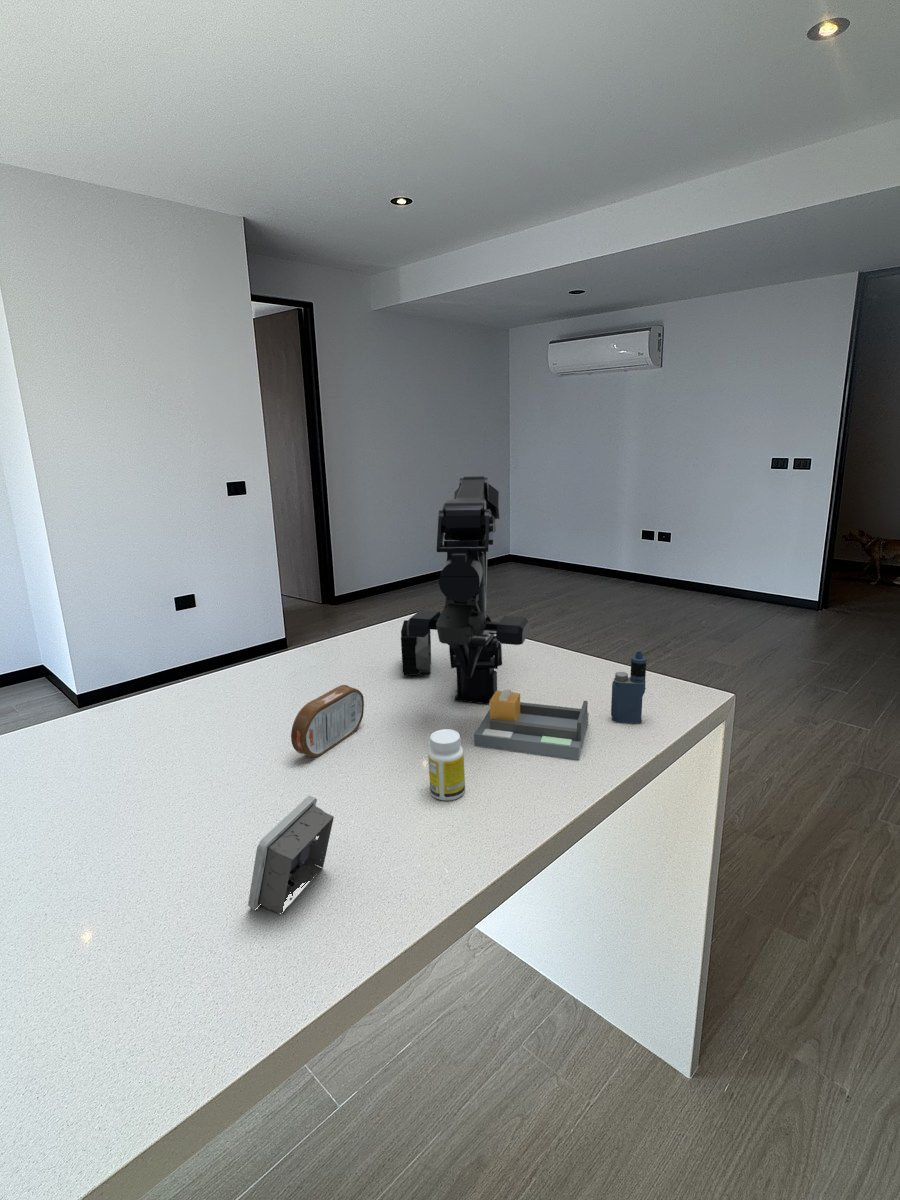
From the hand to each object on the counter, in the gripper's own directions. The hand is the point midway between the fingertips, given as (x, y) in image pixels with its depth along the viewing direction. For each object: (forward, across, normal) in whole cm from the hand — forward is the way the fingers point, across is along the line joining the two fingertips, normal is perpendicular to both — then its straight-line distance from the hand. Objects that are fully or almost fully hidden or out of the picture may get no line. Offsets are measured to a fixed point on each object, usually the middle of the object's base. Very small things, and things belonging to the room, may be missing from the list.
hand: (468, 676), depth 102 cm
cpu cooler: (+9, -18, +21) cm, 29 cm away
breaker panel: (+9, +10, 0) cm, 14 cm away
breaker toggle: (+7, +6, 0) cm, 9 cm away
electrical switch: (+9, -8, -41) cm, 43 cm away
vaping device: (+9, +24, +9) cm, 28 cm away
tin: (+9, -20, -11) cm, 24 cm away
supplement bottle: (+9, +2, -19) cm, 21 cm away
